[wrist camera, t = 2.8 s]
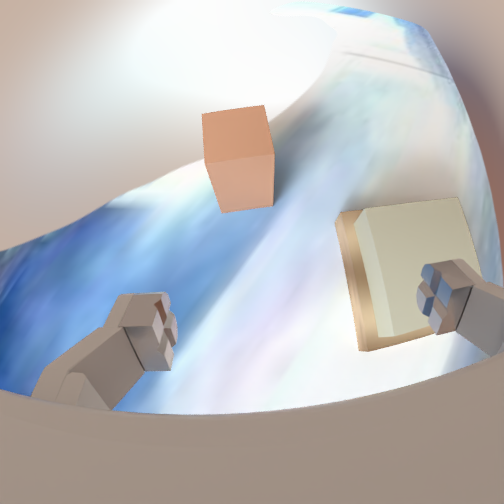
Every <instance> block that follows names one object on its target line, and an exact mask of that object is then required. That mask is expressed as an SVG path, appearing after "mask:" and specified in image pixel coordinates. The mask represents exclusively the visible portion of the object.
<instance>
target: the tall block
mask: <svg viewBox="0 0 504 504" xmlns="http://www.w3.org/2000/svg"><path fill="white" fill-rule="evenodd" d="M202 126H203V143H204V158H205V166H206V169H207V172H208V175H209V178H210V180H211V183H212V186H213V189H214V192H215V195H216V198H217V201H218V204H219V207H220V210H221V213H228V212H234V211H241V210H248V209H255V208H263V207H270V206H273V193H274V164H275V153H274V148H273V143H272V139H271V134H270V130H269V125H268V121H267V116H266V112H265V108H264V105H261V106H253V107H246V108H238V109H230V110H223V111H217V112H211V113H206V114H202Z"/></svg>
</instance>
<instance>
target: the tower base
mask: <svg viewBox="0 0 504 504" xmlns="http://www.w3.org/2000/svg"><path fill="white" fill-rule="evenodd" d="M362 211H363V210H355V211H347V212H341V213H340V214H339V216H338V218H337V220H336V222H335V227H336V231H337V236H338V240H339V245H340V249H341V254H342V259H343V263H344V268H345V273H346V278H347V283H348V289H349V294H350V300H351V305H352V311H353V317H354V323H355V329H356V335H357V342H358V349H359V351H365V352H369V351H373V350H377V349H381V348H385V347H389V346H393V345H397V344H400V343H404V342H407V341H411V340H414V339H418V338H421V337H425V336H428V335H431V334H434V333H435V332H434V331H433V329H432V328H431V326H427V327H424V328H421V329H418V330H415V331H411V332H408V333H405V334H401V335H398V336H393V337H378V331H377V326H376V320H375V315H374V310H373V305H372V300H371V295H370V290H369V285H368V281H367V276H366V272H365V267H364V263H363V259H362V255H361V251H360V247H359V243H358V239H357V235H356V231H355V228H354V223H355V221H356V220H357V218H358V217H359V215H360V214H361V213H362Z"/></svg>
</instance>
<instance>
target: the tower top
mask: <svg viewBox="0 0 504 504" xmlns="http://www.w3.org/2000/svg"><path fill="white" fill-rule="evenodd" d="M354 228H355V231H356V235H357V239H358V243H359V247H360V251H361V255H362V259H363V263H364V267H365V272H366V276H367V281H368V285H369V290H370V295H371V300H372V305H373V310H374V315H375V320H376V326H377V331H378V337H393V336H398V335H401V334H405V333H408V332H411V331H415V330H418V329H421V328H424V327H427V326H430V325H429V323H428V318H429V317H428V316H426V315H424V314H422V313H421V311H420V310H419V308H418V305H417V298H416V294H417V289H418V286H419V285H420V283H421V282H422V281H423V279H422V277H421V272H422V268H423V267H424V265H425V264H430V263H436V262H442V261H448V260H451V259H456V258H460V259H463V260H464V261H465V262H466V263H467V264H468V265H469V266H470V267H471V268H472V269H473V270H474V271H475V272H477V273H478V274H479V275H480V276H481V278H482V274H481V270H480V266H479V262H478V259H477V255H476V251H475V248H474V244H473V241H472V238H471V234H470V231H469V228H468V225H467V222H466V219H465V216H464V213H463V210H462V207H461V205H460V202H459V199H458V197H455V198H446V199H437V200H428V201H420V202H411V203H403V204H395V205H387V206H379V207H371V208H364V210H363V211H362V213H361V214H360V215H359V217H358V218H357V220H356V221H355V223H354Z"/></svg>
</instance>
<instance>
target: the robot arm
mask: <svg viewBox="0 0 504 504" xmlns="http://www.w3.org/2000/svg"><path fill="white" fill-rule="evenodd" d="M421 277H422V279H423V281H422V282H421V283H420V285H419V286H418V289H417V294H416V298H417V305H418V308H419V310H420V311H421V313H422V314H424V315H426V316H428V317H429V318H428V323H429V325H430V326H431V328H432V329H433V331H434V332H435V334H436V335H440V334H444V333H448V332H452V331H456V332H457V333H458V334H460V335H461V336H463V337H464V338H465V339H467V340H468V341H470V342H471V343H473V344H474V345H475V346H477V347H478V348H479V349H481V350H482V351H484V352H485V353H486V354H488V355H489V356H491V357H489V358H487V359H484V360H482V361H479V362H477V363H474V364H472V365H469V366H466V367H464V368H461V369H458V370H456V371H453V372H450V373H447V374H444V375H441V376H438V377H435V378H432V379H429V380H425V381H422V382H419V383H415V384H412V385H408V386H405V387H401V388H397V389H393V390H389V391H385V392H381V393H377V394H373V395H368V396H364V397H359V398H354V399H349V400H344V401H339V402H333V403H327V404H321V405H315V406H308V407H300V408H293V409H284V410H275V411H264V412H252V413H236V414H208V415H178V414H150V413H135V412H123V411H113V410H112V409H113V408H114V407H115V406H116V405H117V404H118V403H119V401H120V400H121V399H122V398H123V397H124V396H125V395H126V393H127V392H128V391H129V390H130V389H131V388H132V387H133V385H134V384H135V383H136V382H137V381H138V380H139V379H140V378H141V376H142V375H143V374H144V373H145V372H144V371H171V366H172V361H173V357H174V353H173V350H172V347H173V346H174V345H175V344H176V342H177V323H176V319H175V315H174V314H173V313H172V312H171V311H170V310H169V308H170V304H171V302H170V299H169V296H168V294H167V293H166V292H151V293H130V294H121V295H119V296H118V298H117V300H116V302H115V304H114V306H113V308H112V310H111V312H110V314H109V316H108V318H107V320H106V322H105V324H104V326H103V328H97V329H96V330H95V331H93V332H92V333H91V334H89V335H88V336H86V337H85V338H84V339H82V340H81V341H80V342H78V343H77V344H76V345H74V346H73V347H72V348H70V349H69V350H68V351H66V352H65V353H64V354H62V355H61V356H60V357H58V358H57V359H56V360H54V361H53V362H52V363H50V364H49V365H48V366H46V367H45V368H44V370H43V372H42V374H41V376H40V378H39V380H38V382H37V384H36V386H35V388H34V390H33V392H32V395H31V397H29V396H24V395H20V394H16V393H13V392H9V391H5V390H2V389H0V504H504V288H502V287H500V286H497V285H495V284H493V283H491V282H487V283H486V282H485V281H484V280H483V279H482V278H481V276H480V275H479V274H478V273H477V272H475V271H474V270H473V269H472V268H471V267H470V266H469V265H468V264H467V263H466V262H465V261H464V260H463V259H460V258H456V259H451V260H448V261H442V262H436V263H430V264H425V265H424V267H423V268H422V272H421Z"/></svg>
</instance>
